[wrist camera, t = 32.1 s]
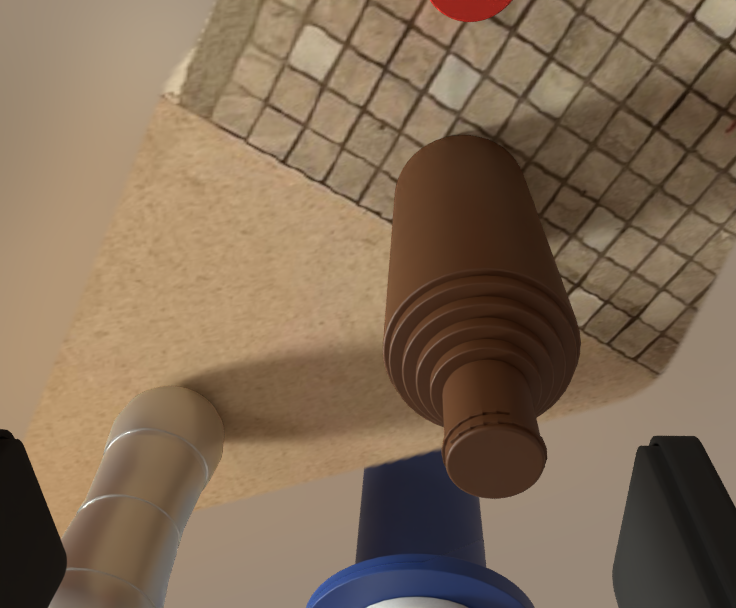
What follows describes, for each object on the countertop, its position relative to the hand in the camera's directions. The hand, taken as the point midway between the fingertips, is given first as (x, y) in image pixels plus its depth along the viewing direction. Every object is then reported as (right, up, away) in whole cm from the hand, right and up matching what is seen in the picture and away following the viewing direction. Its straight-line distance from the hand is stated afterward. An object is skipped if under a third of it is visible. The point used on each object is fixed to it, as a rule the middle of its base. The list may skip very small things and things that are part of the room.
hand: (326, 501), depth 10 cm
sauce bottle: (+5, +8, +23) cm, 25 cm away
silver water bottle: (-11, -4, +31) cm, 33 cm away
